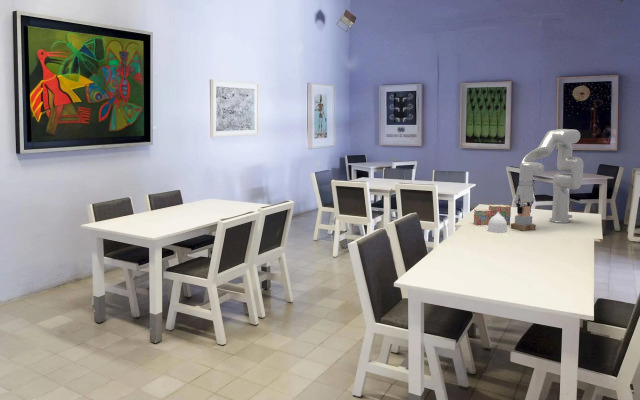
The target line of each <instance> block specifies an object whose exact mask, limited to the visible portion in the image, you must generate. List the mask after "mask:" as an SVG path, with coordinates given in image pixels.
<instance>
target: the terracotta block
mask: <svg viewBox="0 0 640 400" xmlns="http://www.w3.org/2000/svg"><path fill="white" fill-rule="evenodd" d="M521 207H522V214H519V213H517V215H518V216H522V217H528V216H531V213H530V209H531V210H532V206H527V205H523V204H522V206H521Z"/></svg>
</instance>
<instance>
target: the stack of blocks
mask: <svg viewBox="0 0 640 400" xmlns="http://www.w3.org/2000/svg"><path fill="white" fill-rule="evenodd" d="M511 208H512V206H511V205H508V204H507V205H505V204H488V209H487V208H486V209H485V208H484V209H483V208H480V209H478V208H477V209H476V208H474V211H473V224H474V225H476V226H477V225H478V226H488V223H489V220H490V219H491V218H492V217H493V216H495V215H496V214H497V213H498V212H499V214H500V215H501V216H502V217H504V219H505V220H506V222H507V226H511V213H512V212H511V211H512V210H511Z"/></svg>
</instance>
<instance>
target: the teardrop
mask: <svg viewBox="0 0 640 400" xmlns="http://www.w3.org/2000/svg"><path fill="white" fill-rule="evenodd" d="M487 231H488V232H490V233H495V234H497V233H498V234H500V233H501V234H503V233H507V232H508V225H507V222H506V220H505V219H504V217H502V216H501V215H500V214H499V212H498V213H497V214H496V215H495V216H493V217H492V218H491V219H490V220H489V223H488V225H487Z"/></svg>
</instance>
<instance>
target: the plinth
mask: <svg viewBox="0 0 640 400" xmlns="http://www.w3.org/2000/svg"><path fill="white" fill-rule="evenodd" d="M536 227H537V224H534V223H532V225H525V226H523V225H518V224H515V222H513V223H512V222H510V229H513V230H517V231H521V232H529V231H536Z"/></svg>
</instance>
